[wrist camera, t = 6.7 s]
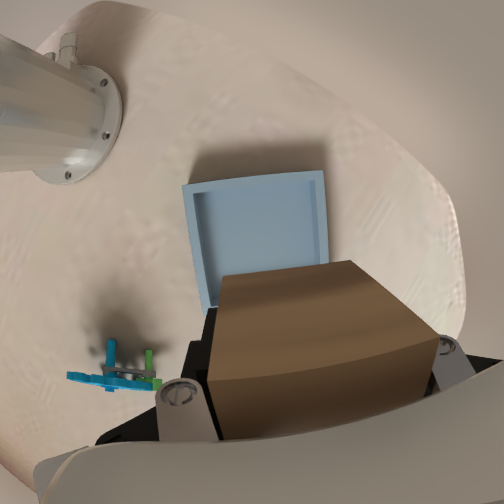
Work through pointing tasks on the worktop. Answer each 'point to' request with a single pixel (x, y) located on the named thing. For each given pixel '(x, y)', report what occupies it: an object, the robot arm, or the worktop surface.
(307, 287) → the block
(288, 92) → the worktop surface
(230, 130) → the worktop surface
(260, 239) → the tray
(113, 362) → the gear
